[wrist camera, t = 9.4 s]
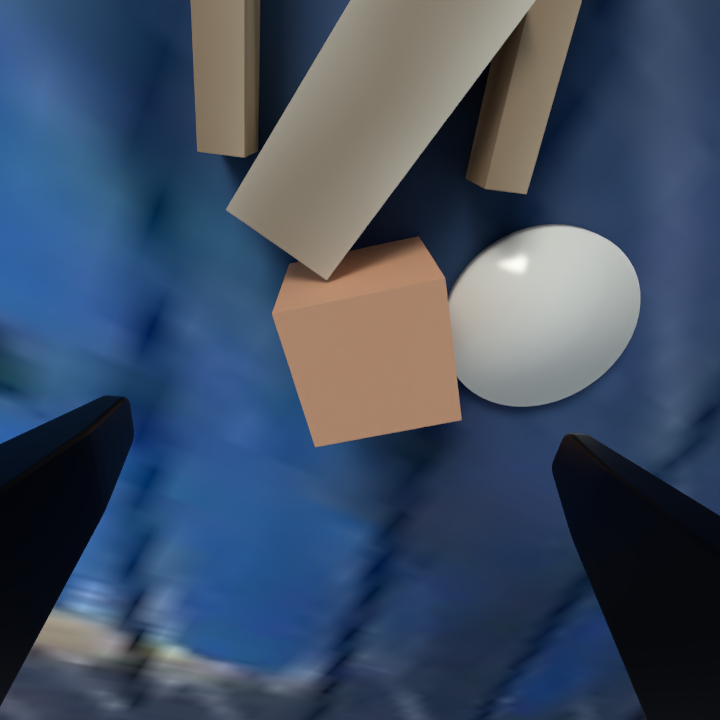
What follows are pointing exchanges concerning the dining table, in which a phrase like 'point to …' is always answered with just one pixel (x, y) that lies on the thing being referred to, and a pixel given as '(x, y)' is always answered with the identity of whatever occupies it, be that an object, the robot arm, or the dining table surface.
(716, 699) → the robot arm
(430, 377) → the block
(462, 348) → the white flat disc
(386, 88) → the beige rectangular block
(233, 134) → the channel
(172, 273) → the dining table surface
